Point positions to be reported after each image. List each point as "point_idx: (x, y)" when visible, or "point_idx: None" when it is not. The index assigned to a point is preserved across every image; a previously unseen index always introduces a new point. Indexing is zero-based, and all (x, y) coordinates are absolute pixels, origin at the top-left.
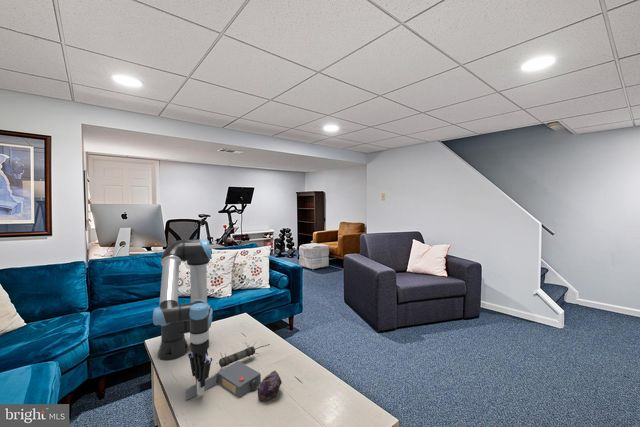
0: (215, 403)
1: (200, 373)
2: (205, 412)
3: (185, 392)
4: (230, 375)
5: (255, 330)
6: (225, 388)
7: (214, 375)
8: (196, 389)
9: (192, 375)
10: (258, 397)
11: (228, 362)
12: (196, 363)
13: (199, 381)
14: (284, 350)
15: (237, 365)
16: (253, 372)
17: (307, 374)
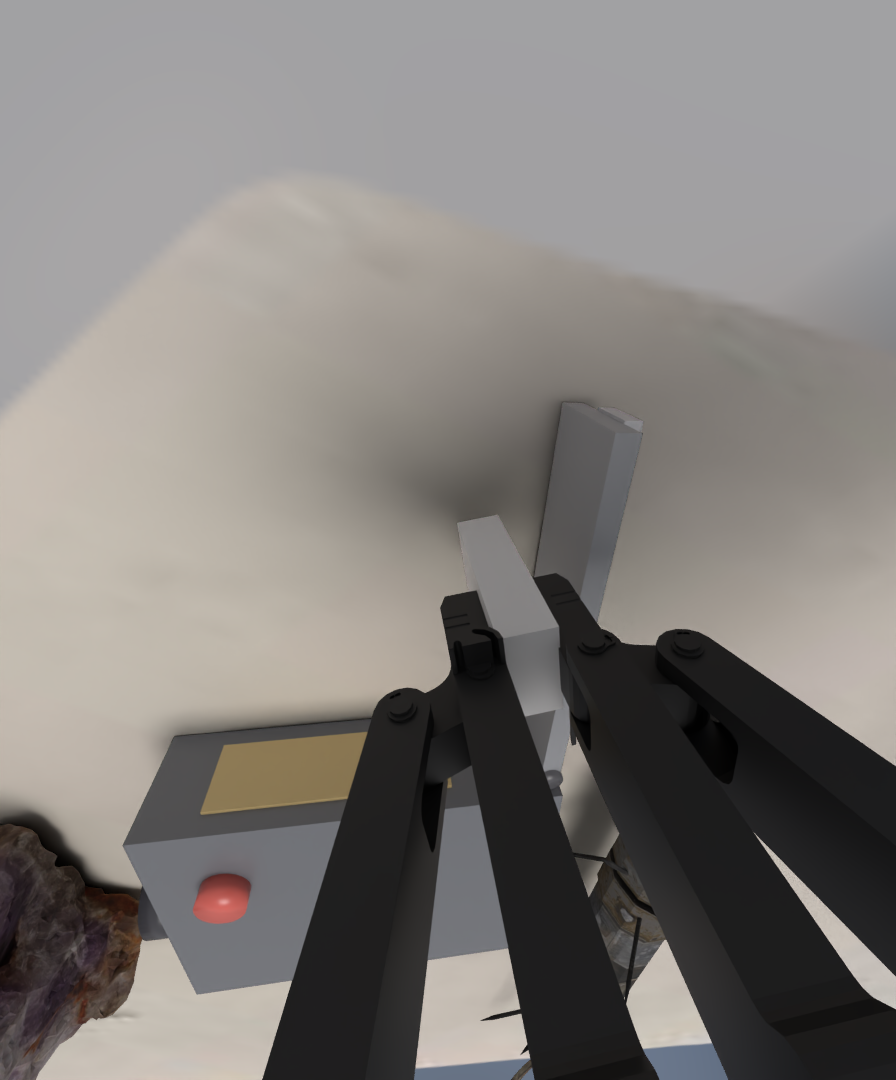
0: (267, 579)
1: (490, 786)
2: (203, 451)
3: (613, 424)
4: None
5: None
6: None
7: (550, 762)
8: (564, 547)
9: (701, 634)
10: (10, 837)
11: (604, 891)
12: (797, 1074)
13: (450, 641)
14: (434, 1046)
15: (484, 924)
16: (261, 968)
17: (92, 1052)
